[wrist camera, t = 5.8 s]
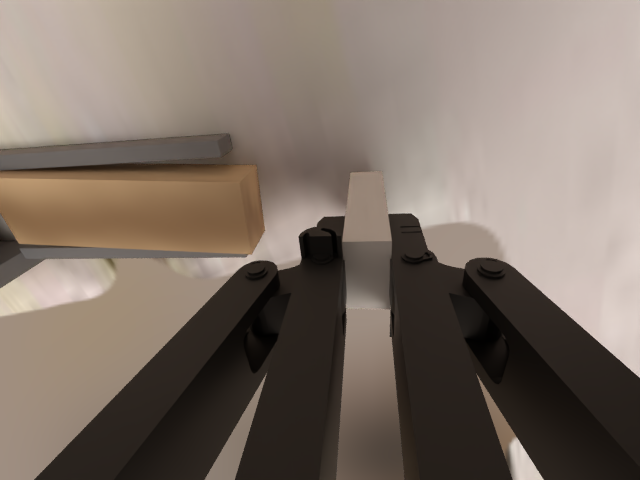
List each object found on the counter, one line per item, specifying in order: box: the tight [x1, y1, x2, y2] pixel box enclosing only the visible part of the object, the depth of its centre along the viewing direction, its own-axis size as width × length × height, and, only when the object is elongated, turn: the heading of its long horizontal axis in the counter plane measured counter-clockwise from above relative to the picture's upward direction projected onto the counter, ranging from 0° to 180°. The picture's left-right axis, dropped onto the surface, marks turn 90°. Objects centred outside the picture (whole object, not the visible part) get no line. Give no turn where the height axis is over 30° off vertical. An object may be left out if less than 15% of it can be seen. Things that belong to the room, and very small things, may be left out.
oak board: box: [0, 163, 265, 255], centre depth 18 cm, size 4×14×3 cm, turn 92°
